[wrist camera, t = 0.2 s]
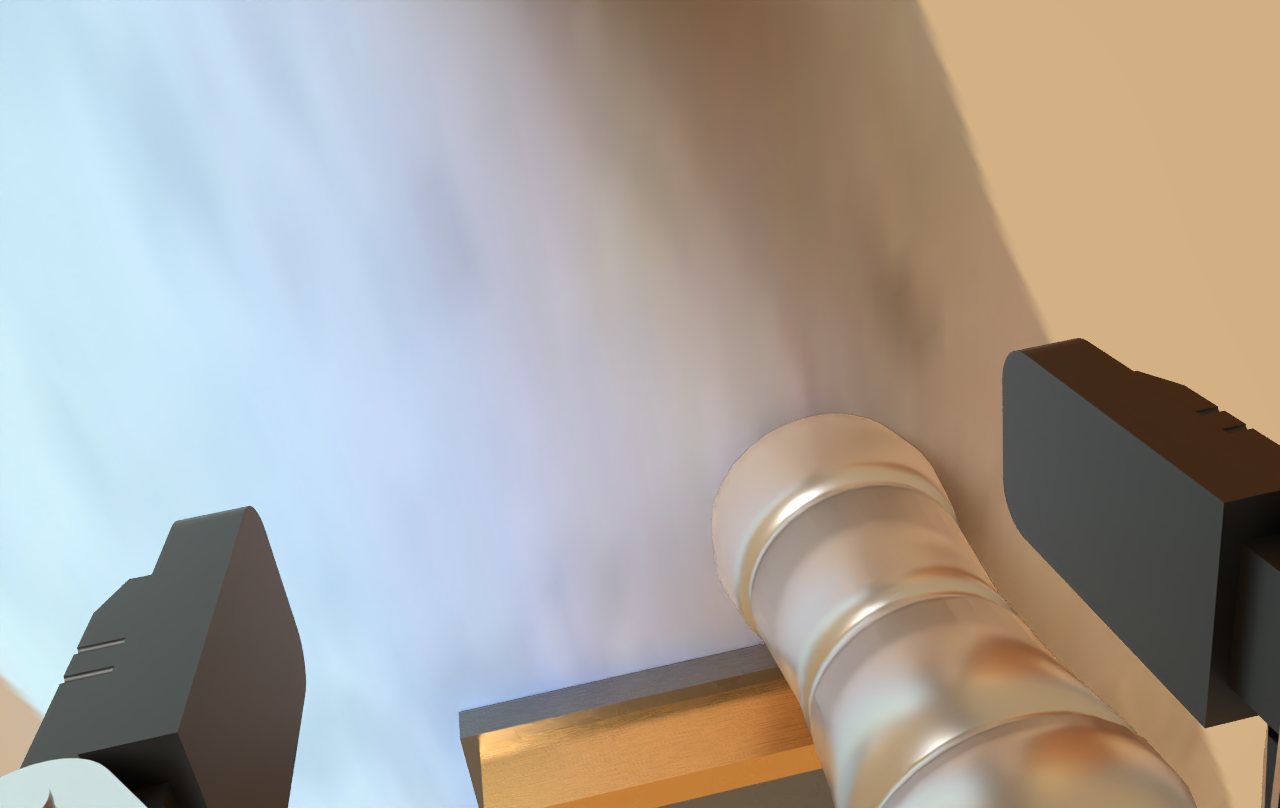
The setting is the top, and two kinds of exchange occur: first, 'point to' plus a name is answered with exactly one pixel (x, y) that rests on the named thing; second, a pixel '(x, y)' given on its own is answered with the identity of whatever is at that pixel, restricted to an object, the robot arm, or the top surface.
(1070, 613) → the top surface
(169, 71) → the top surface
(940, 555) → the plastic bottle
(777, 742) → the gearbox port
